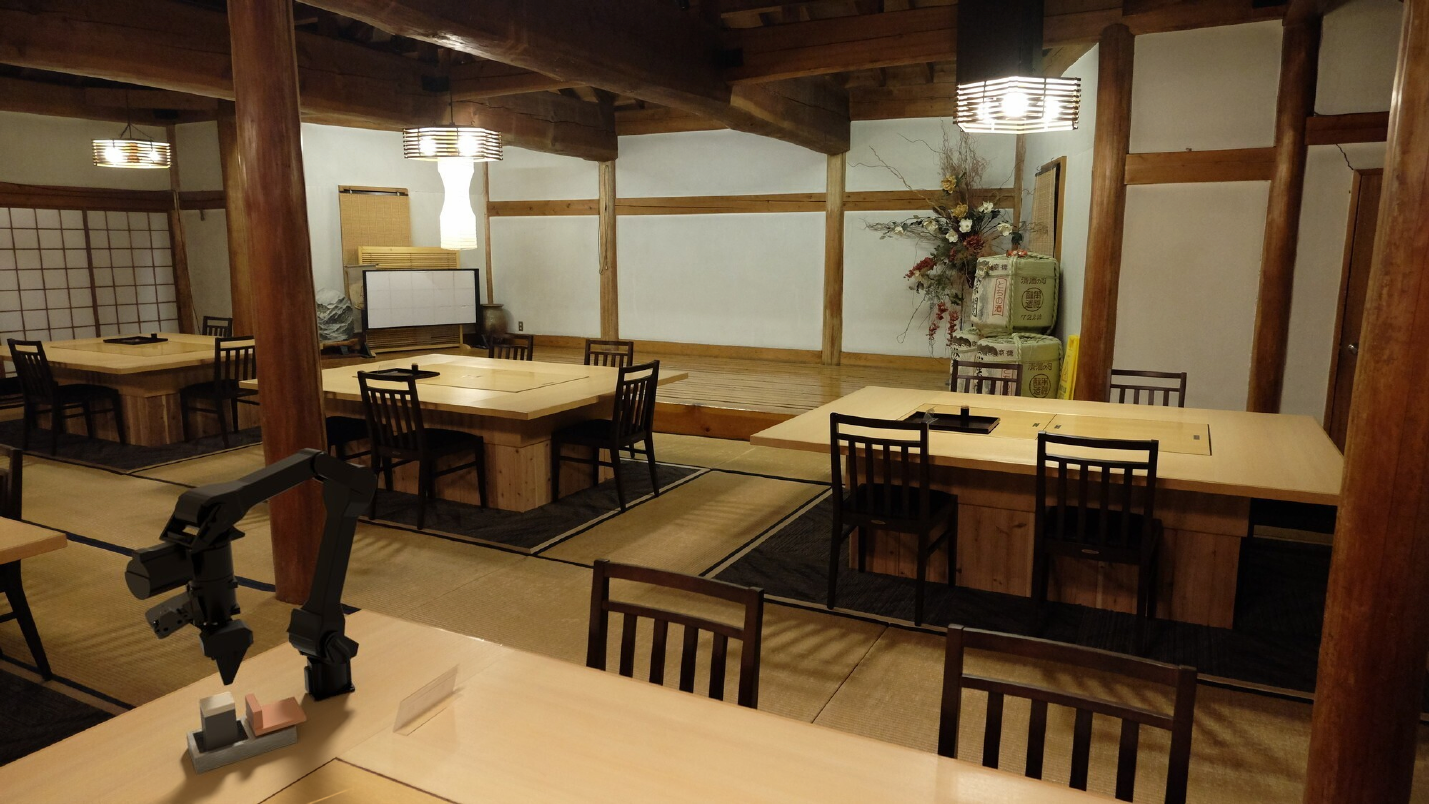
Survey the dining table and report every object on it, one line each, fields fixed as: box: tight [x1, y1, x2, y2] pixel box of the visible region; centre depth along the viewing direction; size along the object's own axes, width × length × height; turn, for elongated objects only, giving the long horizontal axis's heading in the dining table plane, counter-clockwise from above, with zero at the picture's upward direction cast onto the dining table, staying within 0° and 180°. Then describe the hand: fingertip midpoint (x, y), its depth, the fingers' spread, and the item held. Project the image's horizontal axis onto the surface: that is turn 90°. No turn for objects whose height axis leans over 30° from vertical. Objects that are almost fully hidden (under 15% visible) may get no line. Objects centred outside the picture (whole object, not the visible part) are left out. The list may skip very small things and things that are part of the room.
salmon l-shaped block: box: [244, 692, 307, 736], centre depth 133 cm, size 7×7×4 cm
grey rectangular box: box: [185, 714, 298, 775], centre depth 131 cm, size 13×8×2 cm, turn 129°
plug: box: [198, 690, 238, 752], centre depth 128 cm, size 4×4×8 cm
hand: (221, 671), depth 129 cm, fingers open, 9 cm apart
